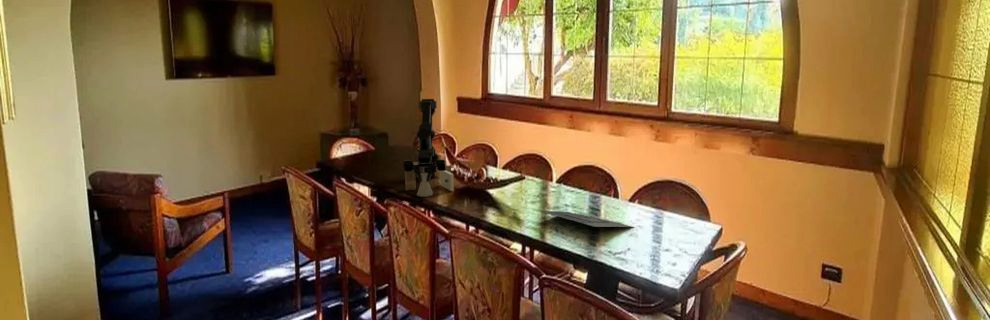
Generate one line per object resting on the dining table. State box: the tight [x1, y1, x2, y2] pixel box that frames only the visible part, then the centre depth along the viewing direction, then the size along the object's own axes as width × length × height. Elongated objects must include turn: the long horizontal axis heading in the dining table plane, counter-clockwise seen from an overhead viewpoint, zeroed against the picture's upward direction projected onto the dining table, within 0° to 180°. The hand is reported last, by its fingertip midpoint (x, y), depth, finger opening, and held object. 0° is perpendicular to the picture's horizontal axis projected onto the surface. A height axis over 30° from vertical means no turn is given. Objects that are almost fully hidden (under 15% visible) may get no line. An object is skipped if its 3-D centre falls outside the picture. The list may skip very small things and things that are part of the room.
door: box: [439, 170, 455, 192], centre depth 286 cm, size 12×3×8 cm, turn 28°
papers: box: [540, 210, 633, 228], centre depth 235 cm, size 24×30×4 cm
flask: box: [416, 172, 434, 198], centre depth 275 cm, size 7×7×10 cm
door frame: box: [404, 164, 453, 191], centre depth 289 cm, size 2×23×9 cm, turn 118°
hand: (424, 181), depth 274 cm, fingers closed on flask, 3 cm apart
